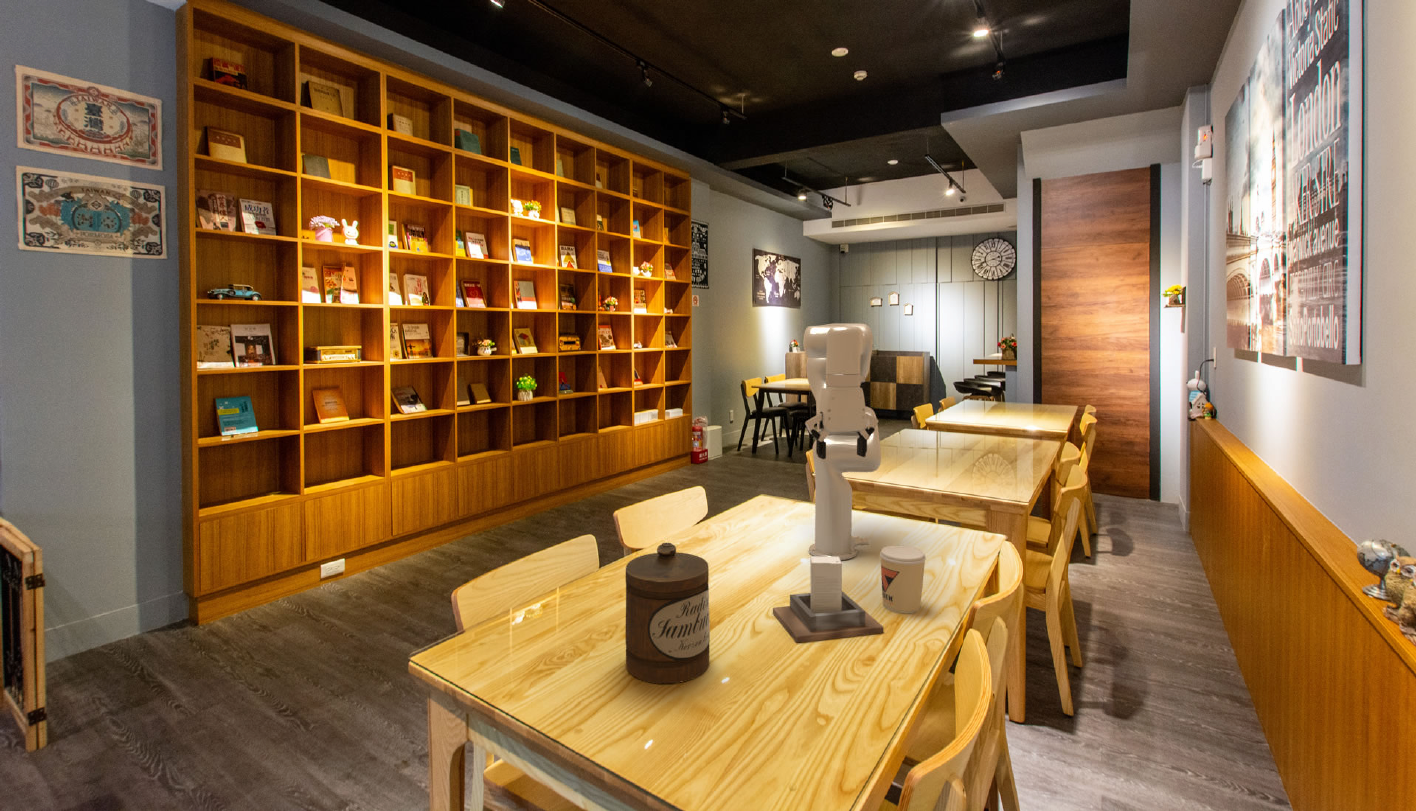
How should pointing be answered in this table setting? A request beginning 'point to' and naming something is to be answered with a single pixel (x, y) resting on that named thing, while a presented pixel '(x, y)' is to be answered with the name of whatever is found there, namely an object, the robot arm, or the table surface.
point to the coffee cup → (902, 578)
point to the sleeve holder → (825, 620)
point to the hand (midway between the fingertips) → (841, 457)
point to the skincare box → (826, 584)
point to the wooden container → (667, 616)
